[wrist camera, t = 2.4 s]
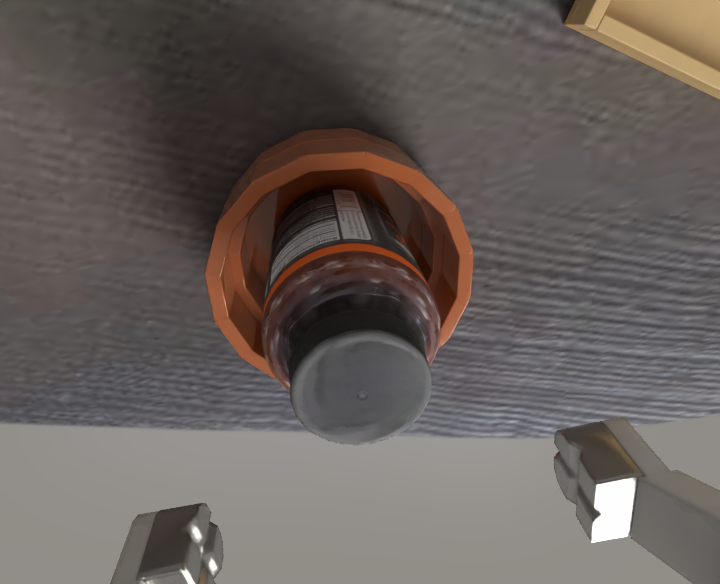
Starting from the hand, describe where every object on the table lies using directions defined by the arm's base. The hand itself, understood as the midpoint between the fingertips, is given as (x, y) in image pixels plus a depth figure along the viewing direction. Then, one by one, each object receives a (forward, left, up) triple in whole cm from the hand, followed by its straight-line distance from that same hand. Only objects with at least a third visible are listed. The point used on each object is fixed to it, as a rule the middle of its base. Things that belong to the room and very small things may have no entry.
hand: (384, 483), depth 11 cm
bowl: (0, 0, -14) cm, 14 cm away
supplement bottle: (0, 0, -14) cm, 14 cm away
